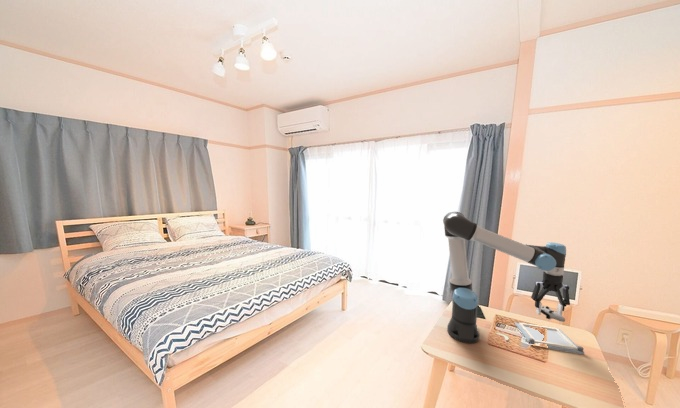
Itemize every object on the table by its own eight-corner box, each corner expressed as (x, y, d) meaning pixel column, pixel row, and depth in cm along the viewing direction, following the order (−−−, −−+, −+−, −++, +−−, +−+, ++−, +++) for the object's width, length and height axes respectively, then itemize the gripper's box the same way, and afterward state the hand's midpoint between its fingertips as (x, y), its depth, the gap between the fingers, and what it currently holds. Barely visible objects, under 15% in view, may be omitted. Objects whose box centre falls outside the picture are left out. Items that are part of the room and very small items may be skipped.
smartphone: (472, 316, 142) (468, 303, 156) (472, 317, 142) (468, 304, 156) (485, 318, 139) (479, 305, 154) (485, 319, 140) (479, 306, 154)
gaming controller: (567, 320, 115) (558, 310, 115) (557, 328, 116) (547, 318, 116) (549, 309, 126) (540, 299, 126) (539, 316, 127) (531, 306, 127)
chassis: (530, 345, 117) (530, 340, 117) (513, 324, 135) (514, 319, 134) (584, 354, 112) (584, 349, 111) (559, 331, 129) (560, 326, 129)
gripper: (532, 273, 119) (528, 315, 121) (584, 278, 113) (578, 322, 115) (525, 268, 126) (521, 307, 128) (573, 272, 120) (568, 314, 123)
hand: (548, 314), depth 122 cm, fingers closed on gaming controller, 8 cm apart
